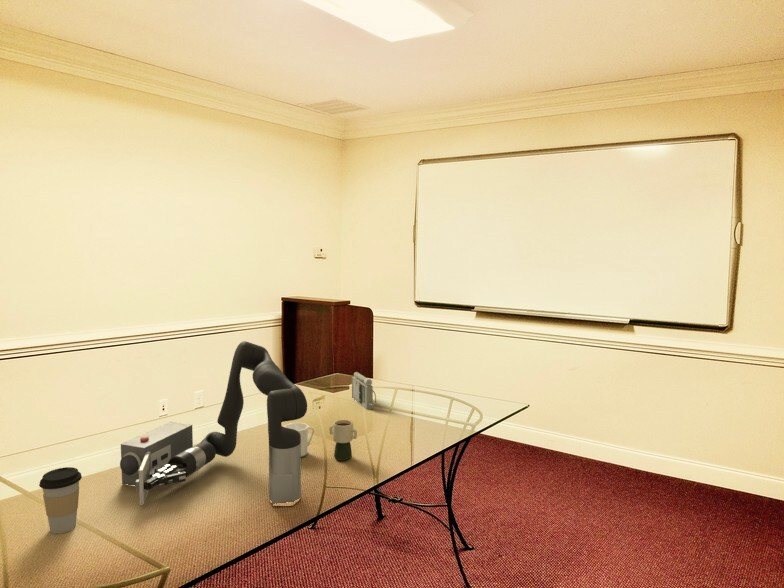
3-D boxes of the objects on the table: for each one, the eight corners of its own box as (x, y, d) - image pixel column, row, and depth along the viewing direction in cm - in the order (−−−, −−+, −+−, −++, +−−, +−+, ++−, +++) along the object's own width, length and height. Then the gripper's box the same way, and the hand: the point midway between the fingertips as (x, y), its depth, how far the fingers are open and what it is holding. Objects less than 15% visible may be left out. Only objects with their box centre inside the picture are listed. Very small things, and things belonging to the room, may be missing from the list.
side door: (144, 504, 148) (143, 469, 147) (136, 505, 148) (134, 470, 147) (151, 483, 161) (150, 451, 160) (143, 484, 160) (142, 452, 159)
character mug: (361, 457, 187) (361, 422, 185) (351, 464, 180) (351, 428, 179) (334, 452, 191) (335, 417, 190) (324, 459, 185) (324, 423, 184)
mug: (284, 460, 183) (284, 432, 182) (282, 450, 192) (282, 423, 191) (315, 457, 186) (315, 429, 185) (312, 448, 194) (312, 421, 194)
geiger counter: (349, 370, 257) (368, 383, 235) (361, 369, 260) (381, 381, 238) (349, 398, 259) (368, 413, 236) (361, 396, 261) (381, 411, 239)
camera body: (171, 457, 184) (170, 419, 183) (194, 461, 181) (193, 422, 180) (116, 487, 161) (115, 443, 160) (141, 492, 158) (140, 447, 157)
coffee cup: (75, 515, 144) (73, 462, 143) (89, 527, 138) (87, 472, 137) (36, 529, 137) (33, 474, 136) (49, 542, 131) (46, 485, 130)
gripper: (170, 448, 166) (127, 470, 150) (204, 453, 162) (164, 477, 146) (170, 470, 167) (127, 495, 151) (205, 477, 163) (165, 503, 147)
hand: (146, 486), depth 148 cm, fingers closed
